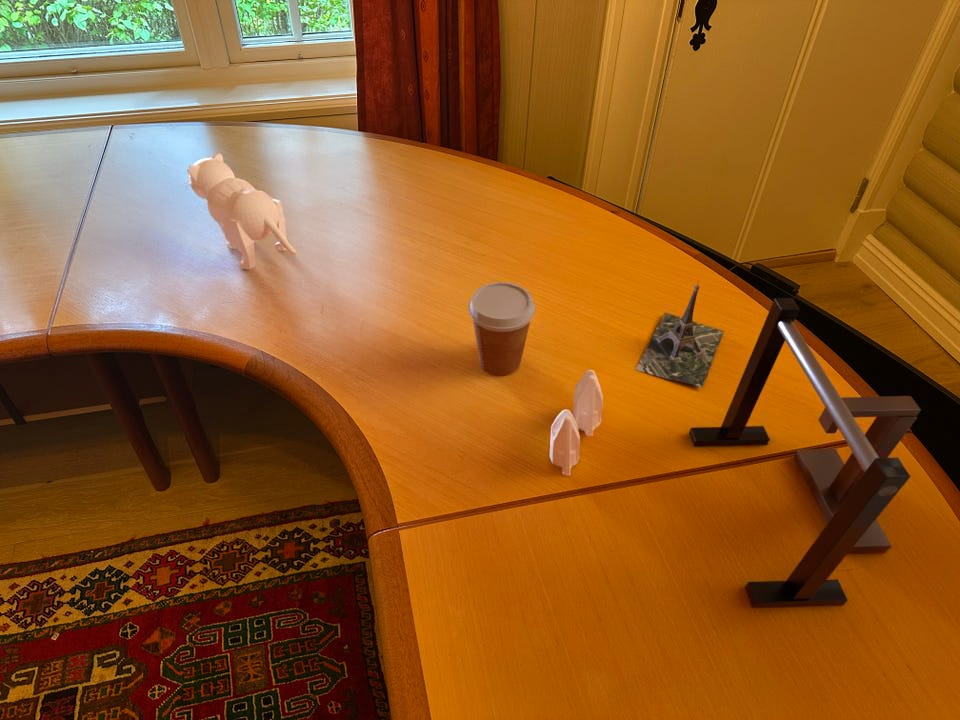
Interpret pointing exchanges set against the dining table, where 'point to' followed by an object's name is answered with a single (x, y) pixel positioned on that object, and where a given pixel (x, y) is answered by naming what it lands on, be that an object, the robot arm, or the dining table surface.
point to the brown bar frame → (837, 478)
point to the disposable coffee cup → (501, 325)
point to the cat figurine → (238, 208)
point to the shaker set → (576, 422)
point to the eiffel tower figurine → (681, 348)
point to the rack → (880, 473)
